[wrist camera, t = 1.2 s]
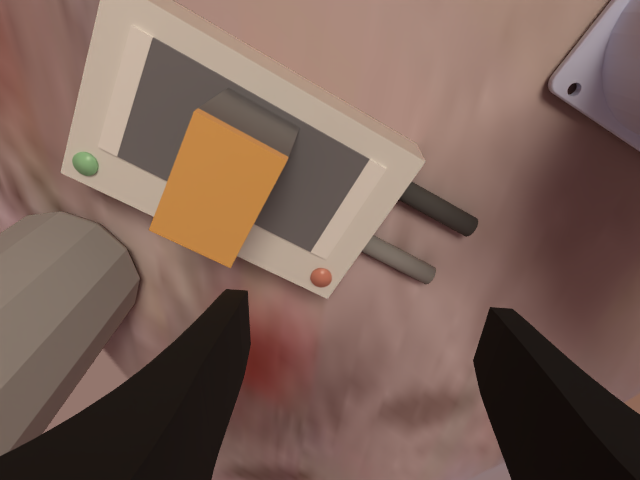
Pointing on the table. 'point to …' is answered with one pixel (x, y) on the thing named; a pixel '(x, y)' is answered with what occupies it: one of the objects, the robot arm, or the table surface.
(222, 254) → the knob
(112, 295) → the water bottle
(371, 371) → the table surface
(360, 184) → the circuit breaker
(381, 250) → the cord
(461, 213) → the cord
